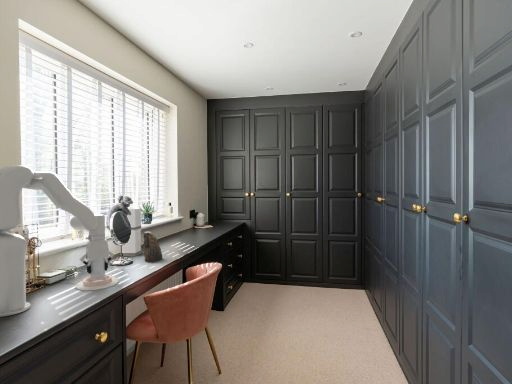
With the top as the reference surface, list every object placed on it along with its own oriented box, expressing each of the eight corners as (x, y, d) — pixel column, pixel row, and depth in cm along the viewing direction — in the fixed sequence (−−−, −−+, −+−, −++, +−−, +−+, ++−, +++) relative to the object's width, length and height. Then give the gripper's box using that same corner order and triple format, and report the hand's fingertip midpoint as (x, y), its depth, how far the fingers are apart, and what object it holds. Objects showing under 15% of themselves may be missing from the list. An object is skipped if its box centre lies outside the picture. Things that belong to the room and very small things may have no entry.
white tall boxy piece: (141, 252, 232) (141, 207, 232) (135, 256, 221) (135, 208, 221) (127, 252, 232) (126, 207, 232) (120, 256, 222) (119, 208, 221)
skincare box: (105, 276, 159) (105, 253, 159) (102, 278, 155) (101, 255, 154) (93, 276, 158) (93, 254, 158) (89, 279, 154) (89, 255, 154)
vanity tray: (81, 293, 142) (81, 287, 142) (71, 284, 157) (71, 278, 157) (124, 284, 156) (124, 278, 156) (111, 276, 171) (111, 270, 171)
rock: (149, 263, 200) (149, 233, 200) (136, 261, 206) (136, 232, 206) (163, 259, 212) (163, 230, 211) (150, 257, 217) (150, 229, 217)
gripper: (80, 240, 148) (80, 276, 148) (117, 236, 160) (117, 269, 160) (76, 239, 153) (76, 273, 153) (112, 235, 165) (112, 267, 165)
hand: (97, 271), depth 157 cm, fingers closed on skincare box, 7 cm apart
